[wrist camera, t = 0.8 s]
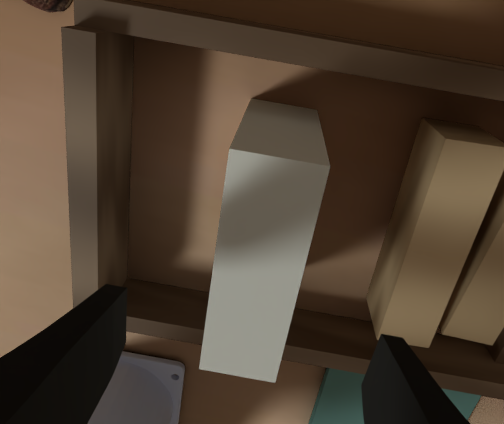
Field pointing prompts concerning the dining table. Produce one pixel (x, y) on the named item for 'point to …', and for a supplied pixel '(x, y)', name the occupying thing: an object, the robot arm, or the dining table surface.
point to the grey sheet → (263, 237)
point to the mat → (350, 399)
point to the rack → (119, 156)
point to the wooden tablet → (50, 4)
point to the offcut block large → (433, 227)
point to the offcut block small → (480, 282)
